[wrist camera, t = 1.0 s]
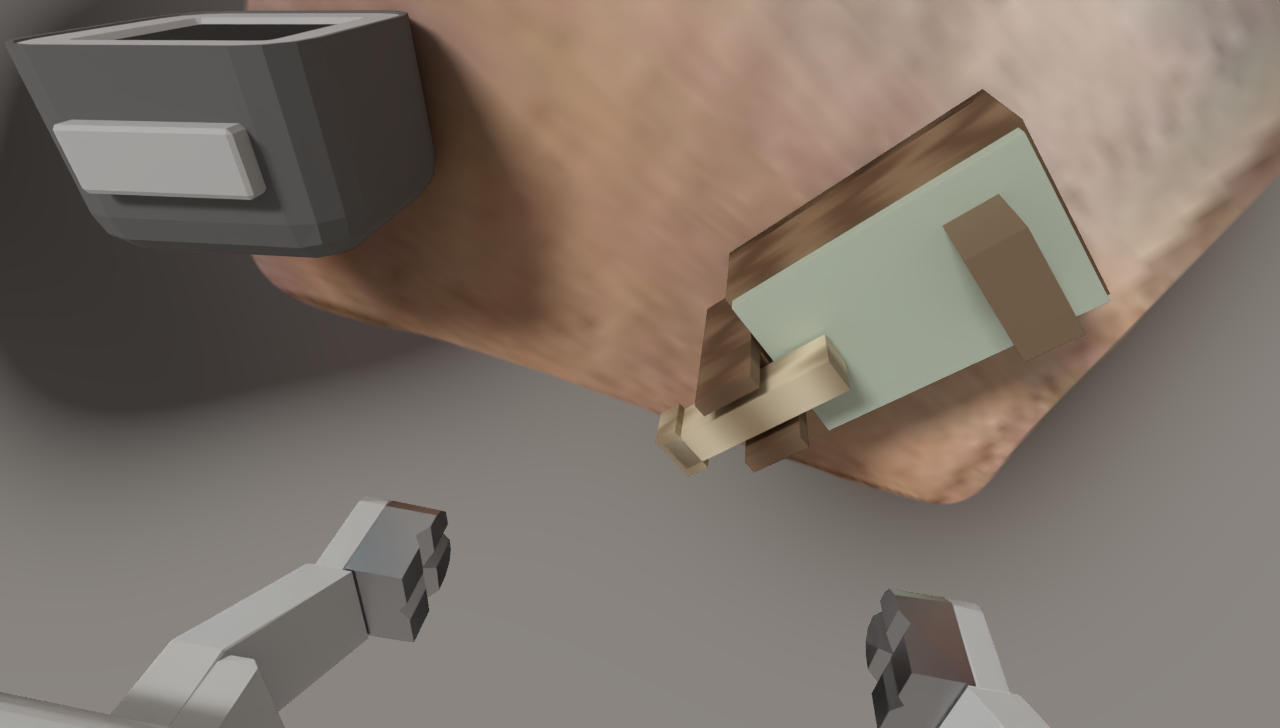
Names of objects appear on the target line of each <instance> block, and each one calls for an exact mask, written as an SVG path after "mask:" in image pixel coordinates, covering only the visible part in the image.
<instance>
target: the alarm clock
mask: <svg viewBox="0 0 1280 728" xmlns="http://www.w3.org/2000/svg"><path fill="white" fill-rule="evenodd" d="M5 46H6V48H7V50H8V52H9V54H10V56H11V58H12V60H13V62H14V64H15V66H16V68H17V69H18V72H19V74H20V76H21V77H22V79H23V81H24V83H25V85H26V87H27V89H28V91H29V93H30V95H31V97H32V99H33V101H34V103H35V105H36V107H37V108H38V111H39V112H40V115H41V117H42V118H43V120H44V122H45V124H46V126H47V128H48V130H49V132H50V134H51V136H52V138H53V140H54V142H55V144H56V146H57V148H58V150H59V152H60V154H61V156H62V158H63V159H64V161H65V163H66V165H67V167H68V169H69V171H70V173H71V175H72V177H73V179H74V181H75V183H76V185H77V187H78V189H79V191H80V193H81V195H82V197H83V198H84V200H85V202H86V204H87V206H88V208H89V210H90V212H91V214H92V215H93V216H94V217H95V219H96V220H97V221H98V222H99V223H100V224H101V225H102V227H103V228H104V229H105V230H106V231H107V233H108V234H111V235H113V236H116V237H118V238H120V239H123V240H125V241H127V242H129V243H132V244H135V245H138V246H142V247H144V248H147V249H160V250H179V251H181V250H182V251H198V252H217V253H237V254H255V255H274V256H293V257H312V258H318V257H324V256H329V255H334V254H339V253H342V252H345V251H348V250H351V249H353V248H355V247H356V246H357V245H359V244H360V243H361V242H362V241H363V240H365V239H366V238H367V237H368V236H370V235H371V234H372V233H373V232H375V231H376V230H377V229H378V228H380V227H381V226H382V225H383V224H385V223H386V222H387V221H388V220H390V219H391V218H392V217H393V216H395V215H396V214H397V213H398V212H400V211H401V210H402V209H403V208H405V207H406V206H407V205H408V204H410V203H411V202H412V201H413V200H414V199H416V198H417V197H418V196H419V195H420V194H421V193H422V191H423V190H424V189H425V187H426V186H427V185H428V184H429V182H430V181H431V179H432V176H433V174H434V161H435V153H434V148H433V142H432V137H431V132H430V127H429V122H428V116H427V111H426V106H425V101H424V96H423V90H422V85H421V80H420V75H419V70H418V64H417V59H416V54H415V49H414V44H413V38H412V33H411V28H410V23H409V18H408V13H405V12H401V11H212V12H194V13H180V14H171V15H162V16H155V17H148V18H142V19H135V20H129V21H122V22H116V23H110V24H104V25H97V26H90V27H84V28H77V29H71V30H64V31H59V32H52V33H45V34H39V35H32V36H26V37H22V38H17V39H12V40H7V41H6V42H5Z"/></svg>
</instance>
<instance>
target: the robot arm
mask: <svg viewBox="0 0 1280 728" xmlns="http://www.w3.org/2000/svg"><path fill="white" fill-rule="evenodd" d="M447 525H448V521H447V516H446V512H445V511H440V510H436V509H431V508H426V507H421V506H416V505H411V504H407V503H401V502H396V501H391V500H386V499H380V498H375V497H370V496H366V497H365V498H363V499H362V500H361V501H359V502H358V503H357V505H356V507H355V508H354V509H353V511H352V512H351V513H350V515H349V516H348V518H347V519H346V521H345V522H344V524H343V525H342V526H341V528H340V529H339V531H338V532H337V534H336V535H335V536H334V538H333V539H332V541H331V542H330V544H329V545H328V546H327V548H326V549H325V551H324V552H323V554H322V555H321V556H320V558H319V559H318V561H317V562H316V564H309V563H307V564H305V565H303V566H301V567H300V568H298V569H296V570H294V571H293V572H291V573H289V574H287V575H286V576H284V577H282V578H280V579H279V580H277V581H275V582H273V583H272V584H270V585H268V586H266V587H265V588H263V589H261V590H259V591H257V592H256V593H254V594H252V595H251V596H249V597H247V598H245V599H243V600H242V601H240V602H238V603H236V604H235V605H233V606H231V607H229V608H228V609H226V610H224V611H222V612H220V613H219V614H217V615H215V616H214V617H212V618H210V619H208V620H206V621H205V622H203V623H201V624H199V625H198V626H196V627H194V628H193V629H191V630H189V631H187V632H185V633H184V634H182V635H180V636H178V637H177V638H175V639H173V640H172V641H170V643H169V644H168V645H167V646H166V648H165V649H164V650H163V651H162V652H161V654H160V655H159V656H158V657H157V658H156V660H155V661H154V662H153V663H152V665H151V666H150V667H149V668H148V670H147V671H146V672H145V673H144V674H143V675H142V677H141V678H140V679H139V680H138V681H137V683H136V684H135V685H134V686H133V687H132V689H131V690H130V691H129V692H128V694H127V695H126V696H125V697H124V698H123V700H122V701H121V702H120V703H119V705H118V706H117V707H116V708H115V709H114V710H113V712H112V713H111V714H110V715H109V714H104V713H99V712H94V711H89V710H84V709H80V708H74V707H70V706H65V705H60V704H55V703H51V702H46V701H41V700H36V699H32V698H27V697H22V696H17V695H12V694H7V693H3V692H0V728H285V727H284V725H283V722H282V720H281V718H280V716H279V713H278V711H280V710H281V709H282V708H283V707H284V706H286V705H287V704H288V703H289V702H291V701H292V700H293V699H294V698H295V697H297V696H298V695H299V694H300V693H301V692H303V691H304V690H305V689H307V688H308V687H309V686H310V685H311V684H313V683H314V682H315V681H316V680H317V679H319V678H320V677H321V676H322V675H324V674H325V673H326V672H327V671H329V670H330V669H331V668H332V667H333V666H335V665H336V664H337V663H338V662H340V661H341V660H342V659H343V658H345V657H346V656H347V655H348V654H349V653H351V652H352V651H353V650H354V649H356V648H357V647H358V646H359V645H361V644H362V643H363V642H364V641H365V640H366V639H368V635H371V636H377V637H383V638H389V639H395V640H401V641H408V642H414V641H415V639H416V637H417V635H418V633H419V631H420V628H421V627H422V624H423V623H424V620H425V618H426V616H427V614H428V612H429V605H428V597H429V596H431V595H432V594H434V593H435V592H436V591H438V590H439V589H440V587H441V585H442V582H443V580H444V578H445V575H446V572H447V568H448V565H449V561H450V552H451V548H450V540H449V539H448V538H447V537H446V536H445V534H443V533H444V531H445V529H446V527H447ZM880 602H881V607H882V612H880V613H878V614H876V615H874V616H873V617H872V619H871V622H870V624H869V627H868V631H867V637H866V659H867V666H868V670H869V671H870V672H871V674H872V675H873V676H874V678H875V679H876V680H877V681H878V682H877V684H876V686H875V688H874V690H873V692H872V699H873V705H874V711H875V717H876V724H877V728H1050V727H1049V726H1048V725H1047V724H1046V723H1045V722H1044V721H1043V719H1041V717H1040V716H1039V715H1038V714H1037V713H1036V712H1035V711H1034V710H1033V709H1032V708H1031V707H1030V706H1029V705H1028V703H1027V702H1026V701H1025V700H1024V699H1023V698H1022V697H1021V696H1020V695H1018V694H1013V693H1010V690H1009V687H1008V684H1007V681H1006V678H1005V675H1004V672H1003V669H1002V666H1001V664H1000V661H999V658H998V655H997V652H996V649H995V647H994V643H993V640H992V638H991V635H990V632H989V629H988V626H987V623H986V620H985V617H984V614H983V612H982V609H981V608H980V607H979V606H978V604H975V603H969V602H964V601H958V600H953V599H945V598H944V597H938V596H932V595H926V594H920V593H914V592H907V591H902V590H895V589H888V590H887V591H886V592H885V593H884V595H883V596H882V598H881V601H880Z"/></svg>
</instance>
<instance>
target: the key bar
mask: <svg viewBox="0 0 1280 728" xmlns="http://www.w3.org/2000/svg"><path fill="white" fill-rule="evenodd" d="M849 390H850V385H849V380H848V375H847V370H846V364H845V361H844V360H843V358H842V357H841V356H840V354H839V353H838V351H837V350H836V349H835V347H834V346H833V345H832V343H831V342H830V341H829V339H828V338H827V337H826V335H825V334H824V335H822V336H820V337H818V338H817V339H815V340H813V341H811V342H809V343H807V344H805V345H804V346H802V347H800V348H798V349H796V350H794V351H792V352H790V353H789V354H787V355H785V356H783V357H781V358H779V359H777V360H776V361H774V362H772V363H770V364H768V365H766V366H764V367H763V368H761V369H760V388H758V389H756V390H754V391H752V392H751V393H749V394H747V395H745V396H743V397H741V398H739V399H737V400H735V401H733V402H731V403H729V404H728V405H726V406H724V407H722V408H720V409H718V410H716V411H714V412H712V413H710V414H708V415H706V416H703V415H702V413H701V412H700V411H699V410H698V409H697V408H696V407H695V404H694V405H692V406H690V407H688V408H686V409H684V408H683V407H682V406H681V405H680V403H679V404H677V405H675V406H674V407H672V408H670V409H668V410H666V411H664V412H663V413H661V416H660V422H659V426H658V431H657V436H656V441H655V442H656V443H657V444H658V445H659V446H660V447H661V448H662V449H663V450H664V451H665V452H666V453H667V454H668V455H669V456H670V458H671V459H672V460H673V461H674V462H675V463H676V464H677V465H678V466H679V467H680V468H681V469H682V470H683V471H684V472H685V473H686V474H687V475H688V476H690V475H693V474H694V473H697V472H699V471H701V470H703V469H705V468H707V467H708V459H709V458H711V457H713V456H715V455H717V454H719V453H721V452H723V451H725V450H727V449H729V448H731V447H733V446H736V445H738V444H740V443H742V442H744V441H746V440H748V439H750V438H752V437H754V436H756V435H758V434H760V433H762V432H765V431H767V430H769V429H771V428H773V427H775V426H777V425H779V424H781V423H783V422H785V421H787V420H789V419H791V418H794V417H796V416H798V415H800V414H802V413H804V412H806V411H808V410H810V409H812V408H814V407H816V406H818V405H820V404H822V403H825V402H827V401H829V400H831V399H833V398H835V397H837V396H839V395H841V394H843V393H845V392H847V391H849Z"/></svg>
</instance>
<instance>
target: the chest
mask: <svg viewBox="0 0 1280 728" xmlns="http://www.w3.org/2000/svg"><path fill="white" fill-rule="evenodd" d="M1016 128H1020V129H1021V130H1022V131H1023V132H1025V134H1026V136H1027V138H1028V140H1029V142H1030V144H1031V146H1032V148H1033V150H1034V152H1035V154H1036V156H1037V157H1038V159H1039V161H1040V163H1041V165H1042V167H1043V169H1044V171H1045V173H1046V175H1047V177H1048V179H1049V181H1050V183H1051V185H1052V187H1053V189H1054V191H1055V193H1056V195H1057V197H1058V199H1059V201H1060V203H1061V205H1062V207H1063V209H1064V211H1065V213H1066V215H1067V217H1068V219H1069V221H1070V223H1071V225H1072V227H1073V229H1074V231H1075V233H1076V235H1077V236H1078V238H1079V240H1080V242H1081V244H1082V246H1083V248H1084V250H1085V252H1086V254H1087V256H1088V258H1089V260H1090V262H1091V264H1092V266H1093V268H1094V270H1095V272H1096V274H1097V276H1098V278H1099V280H1100V282H1101V284H1102V286H1103V288H1104V290H1105V292H1106V294H1107V295H1109V294H1110V293H1109V291H1108V289H1107V287H1106V285H1105V283H1104V281H1103V279H1102V277H1101V275H1100V273H1099V271H1098V269H1097V267H1096V265H1095V263H1094V261H1093V259H1092V257H1091V255H1090V253H1089V251H1088V249H1087V247H1086V245H1085V243H1084V241H1083V239H1082V237H1081V235H1080V233H1079V231H1078V229H1077V227H1076V225H1075V223H1074V221H1073V219H1072V217H1071V215H1070V213H1069V211H1068V209H1067V207H1066V205H1065V203H1064V201H1063V199H1062V197H1061V195H1060V193H1059V191H1058V189H1057V187H1056V185H1055V183H1054V181H1053V179H1052V177H1051V175H1050V173H1049V171H1048V169H1047V167H1046V166H1045V164H1044V162H1043V160H1042V158H1041V156H1040V154H1039V152H1038V150H1037V148H1036V146H1035V144H1034V142H1033V140H1032V138H1031V136H1030V134H1029V132H1028V130H1027V128H1026V126H1025V124H1024V122H1023V120H1022V118H1020V117H1019V116H1018V115H1016V114H1015V113H1014V112H1012V111H1011V110H1010V109H1008V108H1007V107H1006V106H1004V105H1003V104H1002V103H1000V102H999V101H998V100H996V99H995V98H994V97H992V96H991V95H990V94H988V93H987V92H986V91H984V90H983V89H982V90H981V91H979V92H978V93H976V94H975V95H973V96H971V97H970V98H968V99H967V100H965V101H964V102H962V103H961V104H959V105H958V106H956V107H954V108H953V109H951V110H950V111H948V112H947V113H945V114H944V115H942V116H941V117H939V118H937V119H936V120H934V121H933V122H931V123H930V124H928V125H927V126H925V127H924V128H922V129H921V130H919V131H917V132H916V133H914V134H913V135H911V136H910V137H908V138H907V139H905V140H904V141H902V142H900V143H899V144H897V145H896V146H894V147H893V148H891V149H890V150H888V151H887V152H885V153H883V154H882V155H880V156H879V157H877V158H876V159H874V160H873V161H871V162H870V163H868V164H866V165H865V166H863V167H862V168H860V169H859V170H857V171H856V172H854V173H853V174H851V175H850V176H848V177H846V178H845V179H843V180H842V181H840V182H839V183H837V184H836V185H834V186H833V187H831V188H829V189H828V190H826V191H825V192H823V193H822V194H820V195H819V196H817V197H816V198H814V199H812V200H811V201H809V202H808V203H806V204H805V205H803V206H802V207H800V208H799V209H797V210H796V211H794V212H792V213H791V214H789V215H788V216H786V217H785V218H783V219H782V220H780V221H779V222H777V223H775V224H774V225H772V226H771V227H769V228H768V229H766V230H765V231H763V232H762V233H760V234H758V235H757V236H755V237H754V238H752V239H751V240H749V241H748V242H746V243H745V244H743V245H741V246H740V247H738V248H737V249H735V250H734V251H732V252H731V253H730V256H729V268H728V279H727V290H726V298H725V299H723V300H722V301H720V302H718V303H717V304H715V305H714V306H712V307H710V308H709V309H707V316H706V324H705V331H704V339H703V346H702V354H701V361H700V369H699V376H698V384H697V391H696V399H695V407H696V408H697V409H698V410H699V411H700V412H701V413H702V415H703V416H706V415H708V414H710V413H712V412H714V411H716V410H718V409H720V408H722V407H724V406H726V405H728V404H729V403H731V402H733V401H735V400H737V399H739V398H741V397H743V396H745V395H747V394H749V393H751V392H752V391H754V390H756V389H758V388H760V369H761V368H763V367H764V366H766V365H768V364H770V363H772V362H774V361H773V360H772V358H771V357H770V356H769V355H768V353H767V352H766V351H765V350H764V348H763V347H762V346H761V344H760V343H759V342H758V341H757V339H756V338H755V337H754V336H753V334H752V333H751V332H750V331H749V329H748V328H747V327H746V326H745V324H744V323H743V322H742V321H741V319H740V318H739V317H738V316H737V314H736V313H735V312H734V311H733V309H732V301H733V300H734V299H736V298H738V297H739V296H741V295H743V294H744V293H746V292H748V291H749V290H751V289H753V288H754V287H756V286H758V285H759V284H761V283H762V282H764V281H766V280H767V279H769V278H771V277H772V276H774V275H776V274H777V273H779V272H781V271H782V270H784V269H786V268H787V267H789V266H791V265H792V264H794V263H795V262H797V261H799V260H800V259H802V258H804V257H805V256H807V255H809V254H810V253H812V252H814V251H815V250H817V249H819V248H820V247H822V246H823V245H825V244H827V243H828V242H830V241H832V240H833V239H835V238H837V237H838V236H840V235H842V234H843V233H845V232H847V231H848V230H850V229H852V228H853V227H855V226H856V225H858V224H860V223H861V222H863V221H865V220H866V219H868V218H870V217H871V216H873V215H875V214H876V213H878V212H880V211H881V210H883V209H885V208H886V207H888V206H889V205H891V204H893V203H894V202H896V201H898V200H899V199H901V198H903V197H904V196H906V195H908V194H909V193H911V192H913V191H914V190H916V189H917V188H919V187H921V186H922V185H924V184H926V183H927V182H929V181H931V180H932V179H934V178H936V177H937V176H939V175H941V174H942V173H944V172H946V171H947V170H949V169H950V168H952V167H954V166H955V165H957V164H959V163H960V162H962V161H964V160H965V159H967V158H969V157H970V156H972V155H974V154H975V153H977V152H979V151H980V150H982V149H983V148H985V147H987V146H988V145H990V144H992V143H993V142H995V141H997V140H998V139H1000V138H1002V137H1003V136H1005V135H1007V134H1008V133H1010V132H1011V131H1013V130H1015V129H1016ZM807 448H809V441H808V431H807V420H806V412H804V413H802V414H800V415H798V416H796V417H794V418H791V419H789V420H787V421H785V422H783V423H781V424H779V425H777V426H775V427H773V428H771V429H769V430H767V431H765V432H762V433H760V434H758V435H756V436H754V437H752V438H750V439H748V440H746V453H745V463H746V464H747V465H748V466H749V467H750V468H751V470H752V471H753V472H756V471H758V470H760V469H763V468H765V467H767V466H769V465H772V464H774V463H776V462H778V461H780V460H783V459H785V458H787V457H789V456H791V455H794V454H796V453H798V452H800V451H802V450H805V449H807Z"/></svg>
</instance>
